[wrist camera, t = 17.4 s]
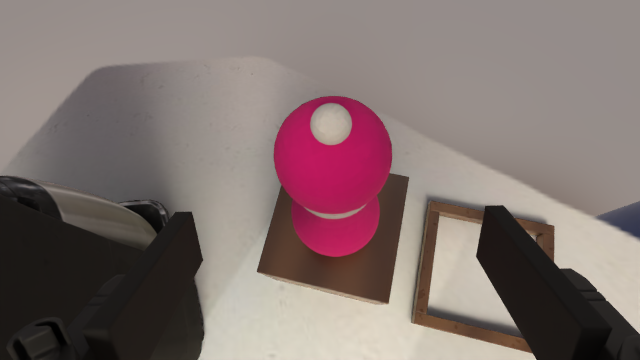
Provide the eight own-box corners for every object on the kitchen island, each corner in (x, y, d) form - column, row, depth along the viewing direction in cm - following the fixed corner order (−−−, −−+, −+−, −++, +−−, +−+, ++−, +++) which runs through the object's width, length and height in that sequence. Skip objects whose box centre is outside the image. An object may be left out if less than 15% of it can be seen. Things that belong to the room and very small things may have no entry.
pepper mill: (289, 197, 34) (227, 63, 15) (361, 178, 34) (388, 23, 15) (307, 271, 31) (260, 222, 13) (385, 250, 32) (450, 171, 13)
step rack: (547, 228, 41) (608, 205, 32) (544, 356, 37) (613, 373, 28) (302, 177, 45) (293, 144, 36) (273, 288, 41) (253, 283, 31)
